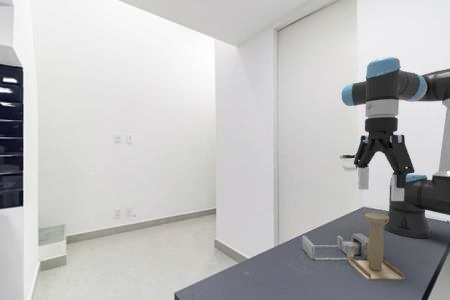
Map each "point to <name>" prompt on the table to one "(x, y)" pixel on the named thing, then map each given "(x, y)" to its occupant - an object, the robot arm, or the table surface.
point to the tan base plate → (370, 274)
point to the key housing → (364, 246)
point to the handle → (376, 239)
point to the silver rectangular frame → (310, 248)
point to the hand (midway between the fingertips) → (378, 194)
